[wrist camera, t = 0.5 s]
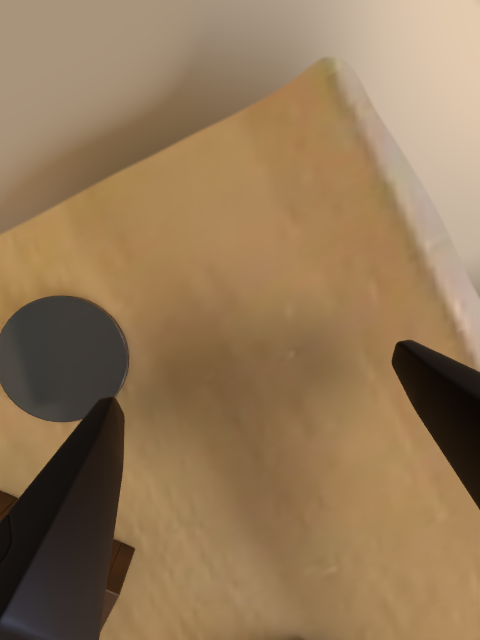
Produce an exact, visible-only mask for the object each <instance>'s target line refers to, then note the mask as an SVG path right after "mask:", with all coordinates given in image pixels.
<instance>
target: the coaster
mask: <svg viewBox="0 0 480 640" xmlns="http://www.w3.org/2000/svg"><path fill="white" fill-rule="evenodd" d="M128 363H129V355H128V347H127V343H126V340H125V337H124V335H123V332H122V330H121V328H120V327H119V325H118V324H117V322H116V321H115V320H114V319H113V318H112V317H111V315H109V314H108V313H107V312H106V311H105V310H104V309H102V308H101V307H99V306H98V305H96V304H94V303H92V302H90V301H87V300H84V299H82V298H77V297H71V296H51V297H45V298H41V299H38V300H35V301H33V302H31V303H29V304H27V305H25V306H24V307H22V308H21V309H19V310H18V311H17V312H16V313H15V314H14V315H13V316H12V317H11V318H10V319H9V320H8V321H7V323H6V324H5V326H4V327H3V329H2V331H1V333H0V384H1V386H2V387H3V389H4V391H5V392H6V394H7V395H8V397H9V398H10V399H11V400H12V401H13V402H14V403H15V404H16V405H17V406H18V407H20V408H21V409H22V410H24V411H25V412H27V413H28V414H30V415H33V416H35V417H37V418H40V419H43V420H47V421H53V422H71V421H77V420H81V419H84V417H85V416H86V415H87V414H88V412H89V411H90V410H91V409H92V407H93V406H94V405H95V404H96V402H97V401H98V400H99V399H101V398H105V397H111V396H113V397H115V396H116V395H117V394H118V392H119V391H120V389H121V387H122V385H123V383H124V381H125V378H126V375H127V371H128Z"/></svg>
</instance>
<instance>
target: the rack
mask: <svg viewBox="0 0 480 640" xmlns="http://www.w3.org/2000/svg"><path fill="white" fill-rule="evenodd" d="M17 500H18V499H16V498H15V497H13V496H10V495H8V494H6V493H3V492H1V491H0V521H1V520H2V519H3V517H4V516H5V515H6V514H8V512H9V510H10V509H11V508H12V506H13V505H14V504H15V503H16V501H17ZM134 551H135V549H134V548H132V547H130V546H127V545H125V544H123V543H122V544H121V543H120V542H118V541H116V540H113V544H112V551H111V558H110V565H109V572H108V579H107V586H106V593H105V600H104V607H103V614H102V621H101V628H100V632H101V630H102V628H103V626H104V624H105V622H106V620H107V618H108V616H109V614H110V612H111V610H112V608H113V606H114V605H115V603H116V601H117V599H118V597H119V595H120V592H121V589H122V586H123V583H124V580H125V577H126V574H127V571H128V568H129V565H130V562H131V559H132V556H133V554H134Z"/></svg>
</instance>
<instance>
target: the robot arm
mask: <svg viewBox="0 0 480 640" xmlns="http://www.w3.org/2000/svg"><path fill="white" fill-rule="evenodd" d="M392 366H393V368H394V370H395V372H396V374H397V376H398V378H399V380H400V382H401V384H402V386H403V388H404V390H405V392H406V394H407V396H408V398H409V400H410V402H411V404H412V405H413V407H414V409H415V411H416V412H417V414H418V415H419V417H420V418H421V420H422V422H423V423H424V425H425V426H426V428H427V429H428V431H429V432H430V434H431V435H432V437H433V438H434V440H435V442H436V443H437V445H438V446H439V448H440V449H441V451H442V452H443V454H444V455H445V457H446V458H447V460H448V462H449V463H450V465H451V466H452V468H453V469H454V471H455V472H456V474H457V475H458V477H459V478H460V480H461V482H462V483H463V485H464V486H465V488H466V489H467V491H468V492H469V494H470V495H471V497H472V499H473V500H474V502H475V503H476V505H477V506H478V508H479V509H480V372H479V371H476V370H474V369H472V368H470V367H468V366H466V365H464V364H462V363H459V362H457V361H455V360H453V359H451V358H449V357H447V356H445V355H442V354H440V353H438V352H436V351H434V350H432V349H430V348H427V347H425V346H423V345H421V344H419V343H417V342H415V341H412V340H405V341H399V342H397V344H396V346H395V349H394V353H393V357H392ZM124 423H125V419H124V413H123V411H122V409H121V407H120V405H119V404H118V402H117V400H116V398H115V397H113V396H111V397H105V398H101V399H99V400H98V401H97V402H96V404H95V405H94V406H93V407H92V409H91V410H90V411H89V412H88V414H87V415H86V416H85V417H84V419H83V420H82V421H81V422H80V423H79V425H78V426H77V427H76V428H75V430H74V431H73V432H72V433H71V435H70V436H69V437H68V438H67V440H66V441H65V442H64V443H63V445H62V446H61V447H60V448H59V449H58V451H57V452H56V453H55V454H54V456H53V457H52V458H51V459H50V461H49V462H48V463H47V464H46V466H45V467H44V468H43V469H42V471H41V472H40V473H39V474H38V475H37V477H36V478H35V479H34V480H33V482H32V483H31V484H30V485H29V487H28V488H27V489H26V490H25V492H24V493H23V494H22V495H21V497H20V498H19V499H18V500H17V501H16V503H15V504H14V505H13V506H12V508H11V509H10V510H9V512H8V514H6V515H5V516H4V517H3V519H2V520H1V521H0V640H99V635H100V628H101V621H102V614H103V607H104V600H105V593H106V586H107V579H108V572H109V565H110V558H111V551H112V544H113V537H114V530H115V523H116V516H117V509H118V502H119V495H120V488H121V481H122V473H123V460H124Z"/></svg>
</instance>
